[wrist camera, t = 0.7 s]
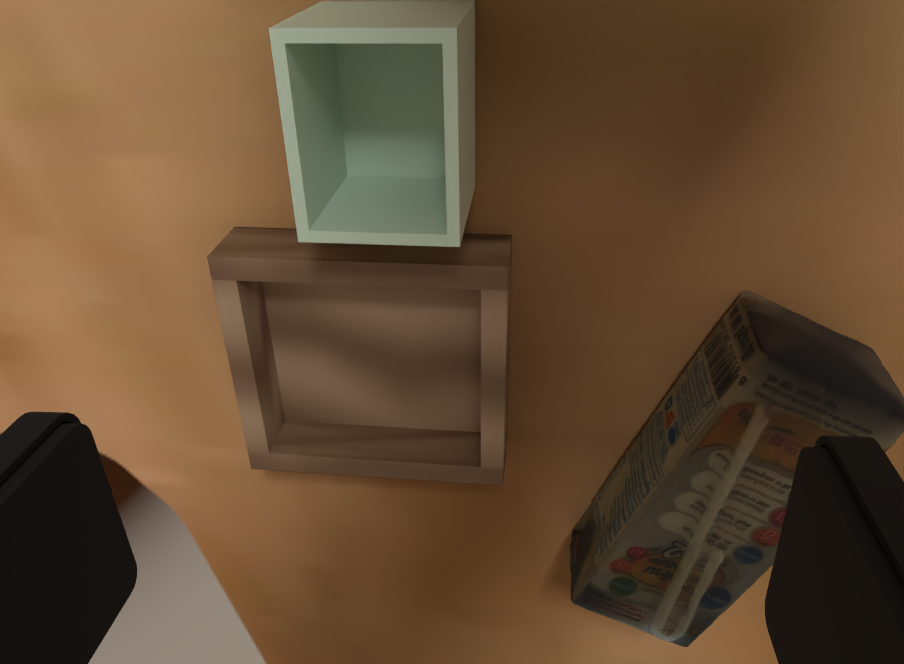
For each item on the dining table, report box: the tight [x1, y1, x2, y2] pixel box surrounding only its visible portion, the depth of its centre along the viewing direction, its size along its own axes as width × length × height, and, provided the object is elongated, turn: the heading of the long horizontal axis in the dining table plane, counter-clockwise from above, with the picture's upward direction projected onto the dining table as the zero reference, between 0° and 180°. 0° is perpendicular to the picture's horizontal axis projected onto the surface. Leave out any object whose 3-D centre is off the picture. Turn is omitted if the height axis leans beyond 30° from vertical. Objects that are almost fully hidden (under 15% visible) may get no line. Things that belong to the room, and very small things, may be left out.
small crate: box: [269, 0, 476, 247], centre depth 30 cm, size 8×6×7 cm
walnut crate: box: [207, 227, 512, 485], centre depth 38 cm, size 13×14×4 cm
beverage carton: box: [570, 291, 904, 647], centre depth 38 cm, size 8×19×7 cm, turn 158°
